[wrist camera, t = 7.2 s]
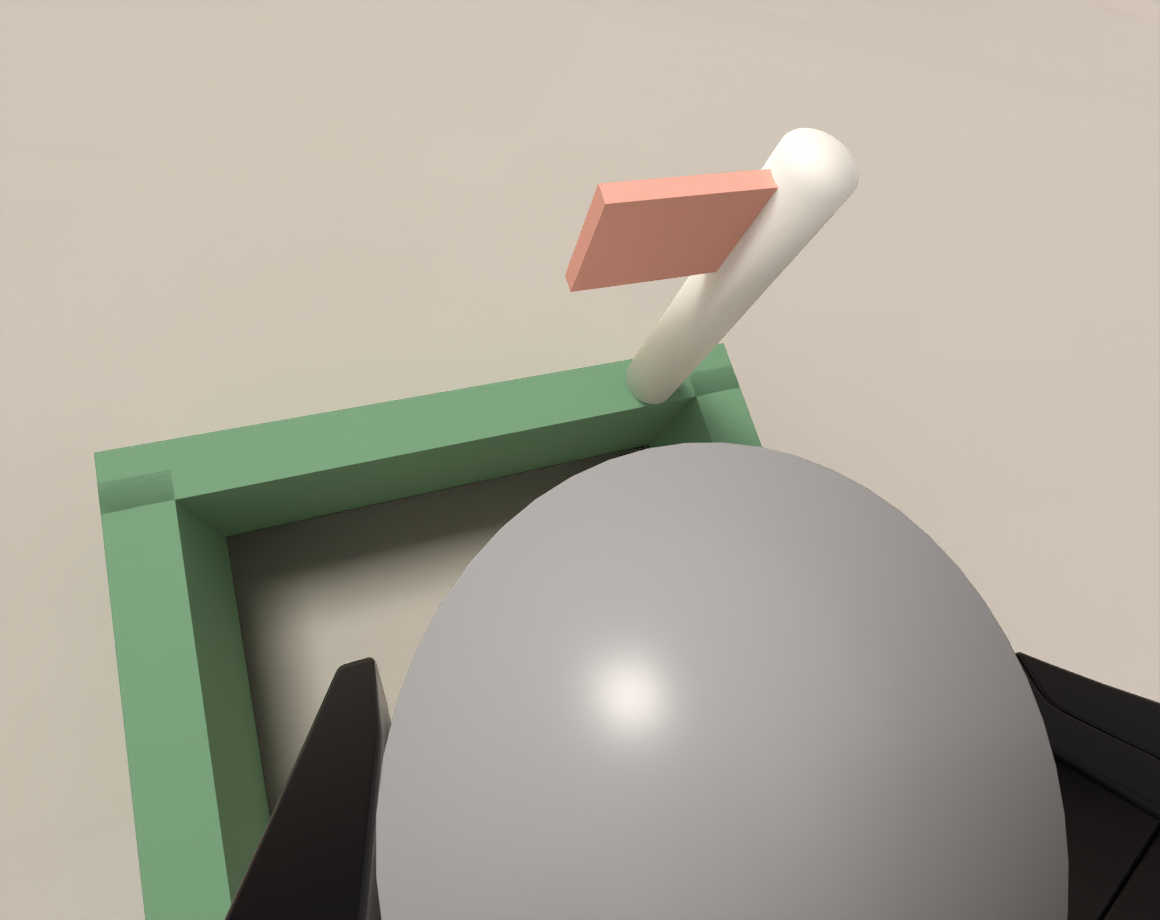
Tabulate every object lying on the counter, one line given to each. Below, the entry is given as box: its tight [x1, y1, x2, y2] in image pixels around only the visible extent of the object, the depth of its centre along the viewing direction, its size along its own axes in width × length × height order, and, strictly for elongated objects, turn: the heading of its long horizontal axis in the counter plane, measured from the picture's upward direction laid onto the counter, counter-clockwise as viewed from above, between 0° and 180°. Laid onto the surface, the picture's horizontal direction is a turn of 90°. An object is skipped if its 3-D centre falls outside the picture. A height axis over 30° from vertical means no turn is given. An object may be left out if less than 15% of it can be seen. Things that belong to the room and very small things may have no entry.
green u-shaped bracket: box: [94, 128, 858, 920], centre depth 11 cm, size 11×13×10 cm
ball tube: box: [376, 442, 1069, 920], centre depth 9 cm, size 5×5×11 cm
